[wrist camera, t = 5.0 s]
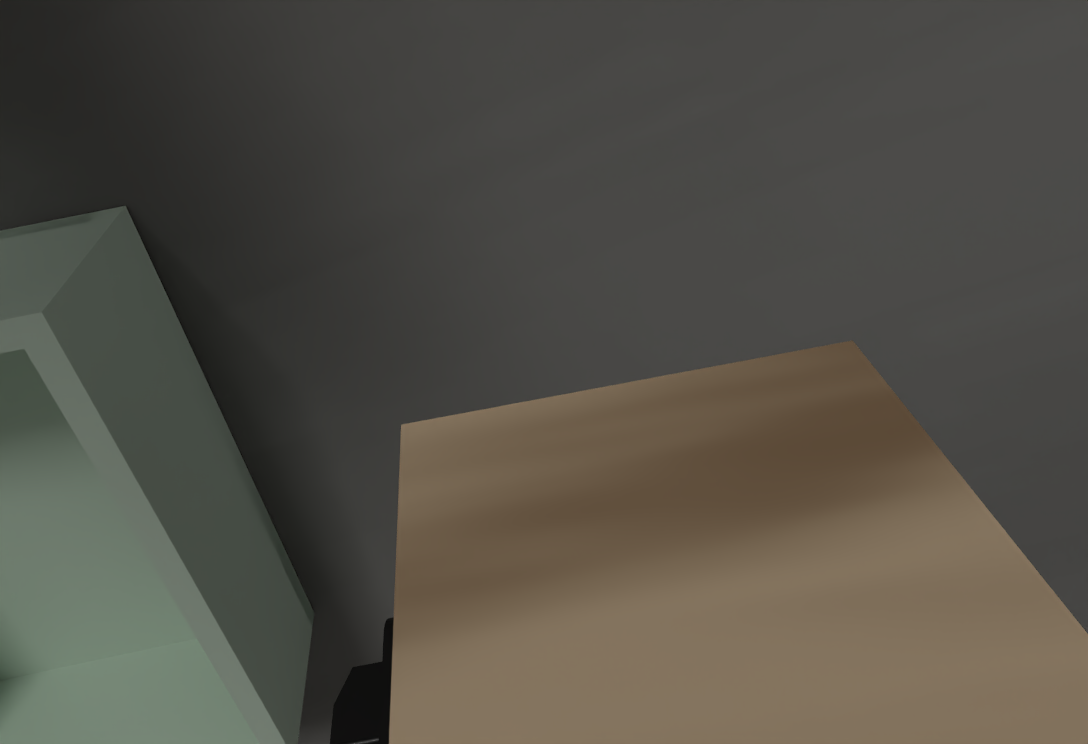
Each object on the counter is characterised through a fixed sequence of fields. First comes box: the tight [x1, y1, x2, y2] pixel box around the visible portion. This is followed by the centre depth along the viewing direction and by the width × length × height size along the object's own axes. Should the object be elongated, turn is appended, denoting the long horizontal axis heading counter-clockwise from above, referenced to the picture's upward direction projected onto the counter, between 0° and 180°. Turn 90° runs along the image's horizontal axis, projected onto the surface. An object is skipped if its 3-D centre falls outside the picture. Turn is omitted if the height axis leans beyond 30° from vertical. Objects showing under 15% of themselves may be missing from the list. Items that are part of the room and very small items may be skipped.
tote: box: [0, 206, 314, 744], centre depth 20 cm, size 14×10×5 cm
